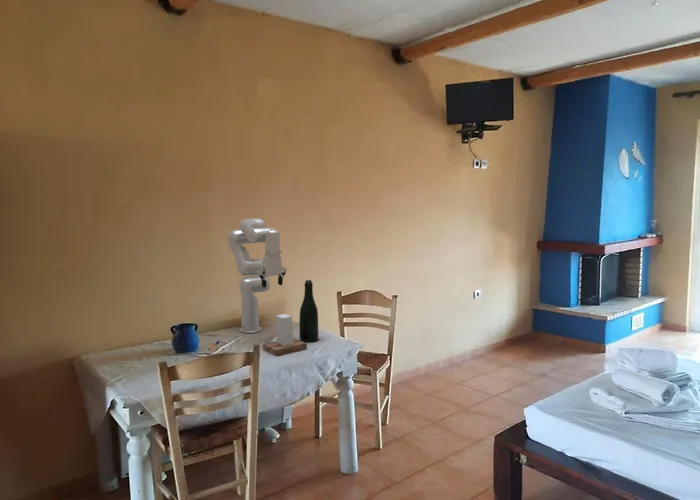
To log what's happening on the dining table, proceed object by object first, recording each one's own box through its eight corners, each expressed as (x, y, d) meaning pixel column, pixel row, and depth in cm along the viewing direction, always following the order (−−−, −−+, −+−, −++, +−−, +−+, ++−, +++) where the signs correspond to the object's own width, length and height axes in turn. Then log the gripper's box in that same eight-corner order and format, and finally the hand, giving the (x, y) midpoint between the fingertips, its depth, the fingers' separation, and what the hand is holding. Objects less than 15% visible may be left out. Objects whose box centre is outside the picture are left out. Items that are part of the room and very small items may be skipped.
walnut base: (263, 349, 265) (263, 344, 265) (293, 343, 276) (292, 337, 276) (276, 356, 255) (276, 350, 255) (306, 349, 266) (306, 343, 266)
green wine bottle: (311, 343, 275) (311, 282, 271) (295, 341, 280) (294, 280, 276) (322, 338, 284) (322, 279, 280) (306, 336, 289) (305, 277, 285)
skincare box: (293, 344, 264) (293, 316, 262) (283, 347, 260) (282, 318, 258) (285, 340, 270) (285, 313, 269) (275, 342, 267) (274, 314, 265)
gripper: (282, 251, 277) (282, 282, 279) (253, 254, 266) (254, 286, 268) (290, 253, 271) (290, 285, 274) (261, 256, 260) (261, 289, 263)
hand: (272, 285), depth 271 cm, fingers open, 9 cm apart
